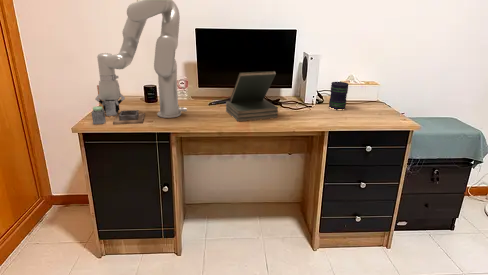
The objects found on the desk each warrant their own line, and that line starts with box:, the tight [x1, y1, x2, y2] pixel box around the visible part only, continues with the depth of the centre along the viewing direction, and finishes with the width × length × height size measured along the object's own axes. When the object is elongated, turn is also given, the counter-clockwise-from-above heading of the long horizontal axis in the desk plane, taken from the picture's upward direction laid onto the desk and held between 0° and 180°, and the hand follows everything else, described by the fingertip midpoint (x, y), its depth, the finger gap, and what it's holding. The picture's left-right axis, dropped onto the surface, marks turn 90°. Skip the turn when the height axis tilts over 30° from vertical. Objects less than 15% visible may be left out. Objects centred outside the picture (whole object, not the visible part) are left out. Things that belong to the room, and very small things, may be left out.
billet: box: [105, 100, 118, 117], centre depth 182 cm, size 5×5×8 cm
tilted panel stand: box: [225, 70, 279, 122], centre depth 185 cm, size 23×20×25 cm
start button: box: [92, 105, 103, 112], centre depth 170 cm, size 4×4×7 cm
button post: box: [91, 109, 107, 125], centre depth 170 cm, size 5×5×6 cm
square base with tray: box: [112, 109, 146, 125], centre depth 176 cm, size 14×14×4 cm
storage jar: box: [328, 81, 349, 109], centre depth 203 cm, size 10×10×15 cm
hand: (111, 111), depth 183 cm, fingers closed on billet, 5 cm apart
